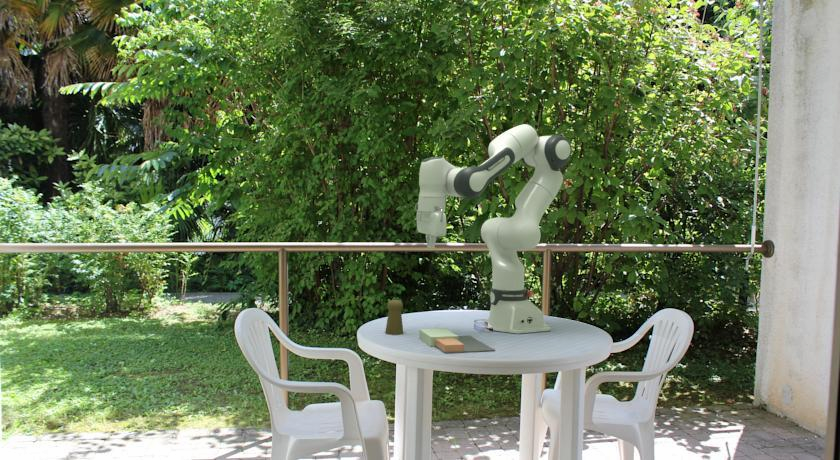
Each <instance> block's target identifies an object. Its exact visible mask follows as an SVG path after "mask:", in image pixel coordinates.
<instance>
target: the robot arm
mask: <svg viewBox="0 0 840 460" xmlns="http://www.w3.org/2000/svg"><path fill="white" fill-rule="evenodd" d="M487 151H488V152H487V153H488V156H489V158H488V159H487V160H485V161H484V162H483V163H481V164H479V165H477V166H468V167H457V166H455V165H453V164H452V163H450V162H449V161H447V160H446V159H445V157H443V156H432V157H431V156H430V157H427V158H424V159H423V160H422V161H421V164H420V167H419V175H418V176H419V177H418V185H419V193H418V202H417V203H416V204H415V206H414V207H415V208H414V209H415V210H414V211H416V229H417V233H421V234H423V235H425V240H426V248H427V249H429V250H433V249H435V248H436V241H437V240H438V239H437V237H446V234H447V216H446V213H445V212H446V203H447V202H446V196H448V197H454V198H455V197H456V198H467V199H476V198H478V197H480V196H481V195H482V194H483V193H484V191H485V190H486V189H487V187H488V185H489V184H490V183H492V181H493V180H495V179H496V178H497V177H498V176H500V175H501V174H503V173H504V172H505V171H506V170H507V169H509V168H510V167H511V166H512V165H514V164H515V163H517V162H519V161H520V163H521V164H522V165H524V166H525V167H528V168H534V172H533V175H532V176H531V178H530V179H528V181H527V183H526V184H525V186H524V187H523V188H522V190H521V191H520V193H519V194H518V195H517V196H516V198H515V200H514V205H515V208H516V209H515V212H514V214H513V215H512V216H510V217H503V216H496V217H492V218H489V219H486V220H485V221H484V223H482V226H481V229H480V236H481V240H482V241H483V242H484V243H485V244H486V247H487V249H488V252H489V255H490V260H491V266H492V279H491V280H492V283H491V285H492V287H491V288H490V294H489V295H490V310H489V316H488V320H487V323H488V322H489V324H490V325H491V326H492V327H493V330H492V331H496V332H502V333H511V334H529V333H539V332H549V331H551V327H550V325H549V324H546V323H545V317H544V316H545V315H544V313H543V311H542V310H541V309H540V308H539V307H538V306H536V305H535V304H534V303H533V302H532V301H530V300H529V297H530V298H532V297H534V296H535V294H534V293H533V291H531V290H527V289H525V266H524V265H523V263H522V262H521V260H520V258H519V256H518V252H517V251H519V252H522V251H530V250H533V249H535V248H537V246H538V245H539V243H540V240H541V229H540V222H541V220H542V217H543V216H544V214H545V213H546V211H547V210H548V208H549V207H550V205H551V204H552V203H553V201H554V200H555V198H556V196H557V195H558V192H559V191H560V189H561V186H562V184H563V181H564V176H563V173H562V172H561V171H563V170H564V169H565V168H566V167H567V163H568V162H569V161H570V158H571V155H572V144H571V142H570V140H569V139H568V138H567V137H565V136H563V135H559V134H553V135H542V136H538V133H537V130H536V129H535V128H534V127H533V126H532V125H530V124H526V123H525V124H524V123H523V124H520V125H516V126H513V127H512V128H510V129H507V130H506V131H504V132H502V133H501V134H498V136H496V137H495V138H493V139H492V140H491V141H490V142H489V145H488V148H487Z"/></svg>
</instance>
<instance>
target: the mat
mask: <svg viewBox="0 0 840 460" xmlns="http://www.w3.org/2000/svg"><path fill="white" fill-rule="evenodd" d="M457 336H458V341H459V342H461V343H463V344H464V351H456V352H444V351H443V350H441V349H440V348H438V347H437V346H436V345H435V348H437V349H438V350H439V351H441V352H442V353H444V354H446V355H447V354H461V353H462V354H463V353H467V354H468V353H483V352H485V353H486V352H496V349H494V347H491V346H489V345H488V344H485V343H484V342H482V341H480V340H478V339H477V338H475V337H473V336H472V335H457Z"/></svg>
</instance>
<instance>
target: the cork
mask: <svg viewBox="0 0 840 460" xmlns="http://www.w3.org/2000/svg"><path fill="white" fill-rule="evenodd" d="M386 307H387V310H388V314H387V319H386V327H385V334H387V335H392V336H395V335H396V336H398V335H403V334H404V327H403V317H402V310H403V307H404V304H403V302H402V300H398V299H392V300H388V302H387V304H386Z"/></svg>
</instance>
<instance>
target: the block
mask: <svg viewBox="0 0 840 460" xmlns="http://www.w3.org/2000/svg"><path fill="white" fill-rule="evenodd" d="M435 345H436V346H437V347H438V348H440V349H441V350H443V351H444V352H456V351H464V344H463V343H461V342H459V341H458V340H456V339H454V338H445V339H435ZM437 347H436V348H437ZM438 348H437V349H438ZM440 349H439V350H440ZM441 350H440V351H441ZM444 352H443V353H444Z"/></svg>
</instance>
